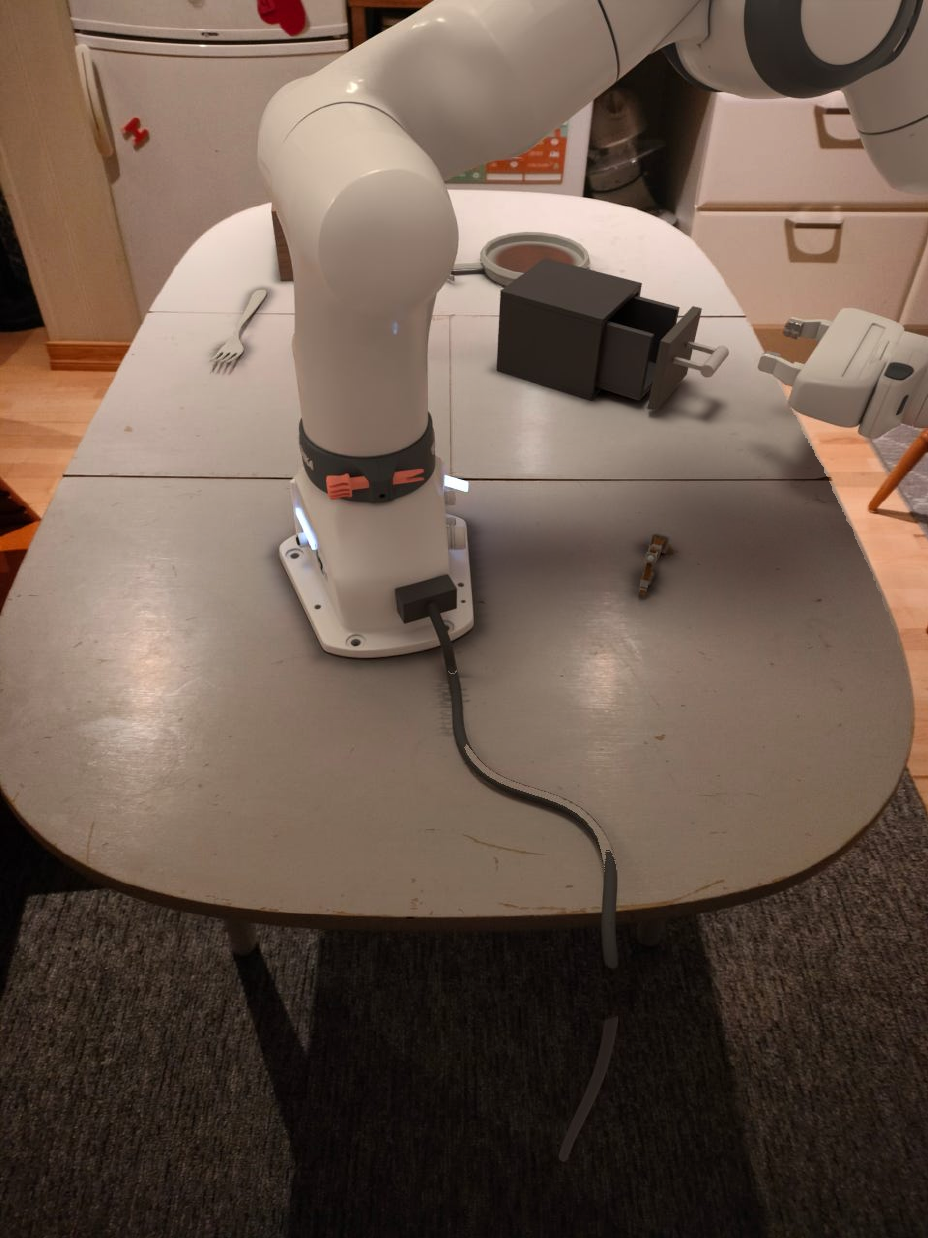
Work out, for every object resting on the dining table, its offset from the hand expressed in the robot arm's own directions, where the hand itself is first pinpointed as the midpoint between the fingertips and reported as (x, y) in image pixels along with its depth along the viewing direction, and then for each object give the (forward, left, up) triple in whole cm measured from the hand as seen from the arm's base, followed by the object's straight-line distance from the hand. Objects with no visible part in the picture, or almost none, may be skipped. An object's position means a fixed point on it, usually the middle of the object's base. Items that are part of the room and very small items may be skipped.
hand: (773, 342), depth 94 cm
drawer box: (+18, +18, -11) cm, 27 cm away
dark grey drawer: (+10, +10, -10) cm, 17 cm away
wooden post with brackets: (-22, +22, -11) cm, 33 cm away
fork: (+36, +58, -11) cm, 69 cm away
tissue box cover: (+63, +43, -11) cm, 77 cm away
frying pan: (+48, +18, -11) cm, 52 cm away
